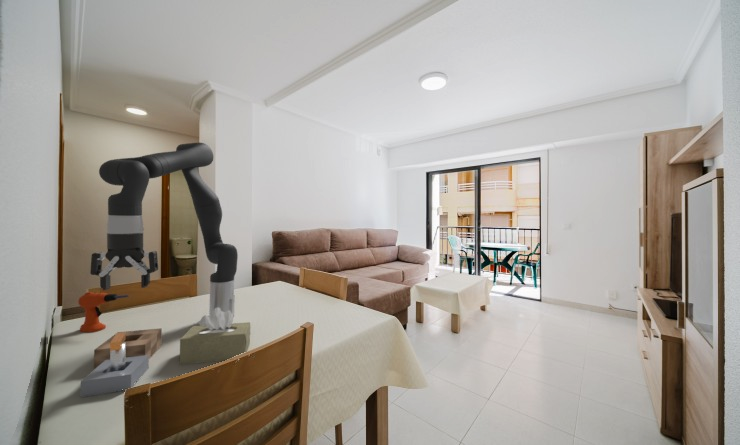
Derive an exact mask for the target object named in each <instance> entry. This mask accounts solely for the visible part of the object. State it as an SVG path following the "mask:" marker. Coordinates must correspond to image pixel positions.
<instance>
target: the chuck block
mask: <svg viewBox="0 0 740 445" xmlns="http://www.w3.org/2000/svg"><path fill="white" fill-rule="evenodd" d="M162 331H163V330H162V327H160V328H150V329H138V330H129V331H125V332H126V339H125V341H124V342H126V358H127V357H135V356H144V355H149V360H150V359H151V358H152V357H153V355H154V354H156V352H157V351H158V350H159V349H160V347H162V334H163V333H162ZM122 332H123V331H118V332H117V333H122ZM114 336H115V334H114V335H112V336H111V337H110V338H108V339H106V340H105V341H104V342H103V343H101V344H100V345H99V346H97V347H96V348H95V349H94V350H93V370H94V369H96V368H97V367H98V366H99V365H100V364H101V363H103V362H104V361H105V360H110V343H111V341H112V339H113V338H114Z"/></svg>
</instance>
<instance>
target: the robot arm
mask: <svg viewBox="0 0 740 445" xmlns="http://www.w3.org/2000/svg"><path fill="white" fill-rule="evenodd" d="M213 161H214V153H213V150H212V148H211V147H210V146H209V145H208V144H206V143H204V142H189V143H181V144H178V145H177V147H176V150H173V151H172V150H171V151H164V152H157V153H155V152H154V153H151V154H145V155H142V156H138V157H123V158H116V159H110V160H107V161H105V162H103V163H102V164H101V165H100V166H99V170H98V174H99V176H100V178H101V180H103V181H104V182H105V183H107V184H108V185H112V186H122V188H121V190H120V191H119V192H118V193H115V194H111V195H110V196H109V197H108V199H107V220H106V249H107V252H102V251H97V252H93V253H92V254H91V261H90V272H89V273H90V275H92V276H94V275H95V276H98V277H99V280H100V282H99V283H100V284H99V285H100V288H101V289H102V290H103V291H108V290H110V289H111V275H110V274H111V273H112V272H113V271H114V270H115V269H116V268H117V269H121V268H127V269H128V268H133V267H134V269H136V270H138V271H139V273H141V274H142V275H141V283H140V286H141V288H142V289H145V288H147V287H148V286H149V285H150V283H151V274H152V273H154V272H156V271H158V270H159V262H158V261H159V260H158V251H157V250H153V251H145V250H144V230H145V228H144V221H143V200H144V198H145V193H146V191H147V188H148V186H149V183H150V179H157V178H160V177H162V176H166V175H169V174H171V173H175V172H178V171H182V175H183V177H184V179H185V182H186V185H187V187H188V190H189V193H190V196H191V199H192V204H193V208H194V211H195V214H196V217H197V220H198V223H199V227H200V231H201V234H202V238H203V244H204V250H205V255H206V259H207V260H208V261H209V262H210V263H211V264H215V265H217V266H216V271H215V272H213V273H211V274H210V277H209V278H210V279H209V306H208V307H209V309H208V310H209V311H208V312H209V314H208V316H209V315H211V313H212V311H213V310H214V309H215V308H220V309H221V311H223V312H226V311H228V310H230V311H231V313H232V314H233V315H234V316H233V318H234V317H235V302H236V301H235V299H236V298H235V275H236V273H237V269H238V257H239V255H238V249H237V248H236V246H235V245H233V244H229V243H223V242H224V241H223V239H222V236H221V232H220V230H221V229H220V227H221V223H222V218H223V211H222V207H221V203H220V200H219V199H220V198H219V197H218V196H217V194H216V192H214V190H213V189H212V188H210V187H209V186H208V185H207V183H205V181H204V179H202V176H201V174H200V171H199V169H198V168H205V167H208V166H210V165H211V164H212V163H213ZM145 257H146V259H147V260H148V264H149V267H148V266H147V263H145V262H144V260H143V259H144V258H145ZM105 258H106V259H107V261H108V263H107V265H105V267H104V268H103V261H105ZM102 268H103V269H102Z"/></svg>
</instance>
